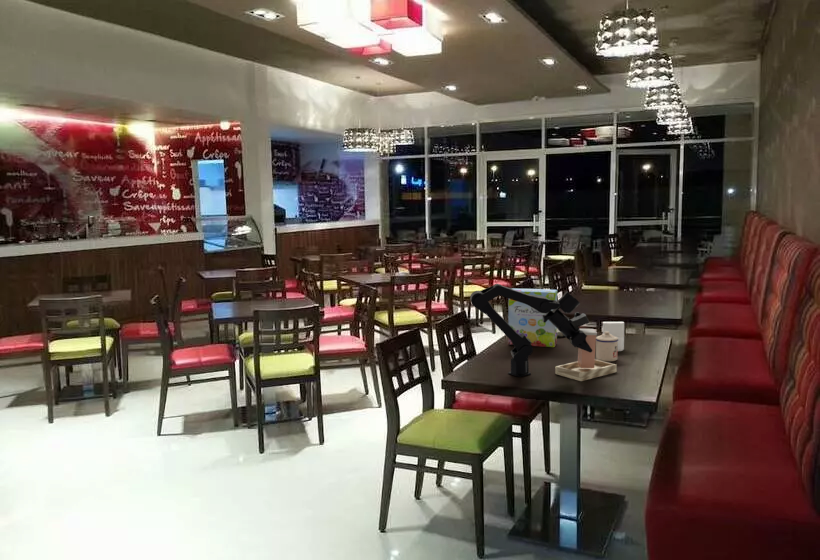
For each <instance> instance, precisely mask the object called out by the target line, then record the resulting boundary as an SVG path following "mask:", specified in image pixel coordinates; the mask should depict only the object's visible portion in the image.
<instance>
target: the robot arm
mask: <svg viewBox="0 0 820 560" xmlns="http://www.w3.org/2000/svg"><path fill="white" fill-rule="evenodd" d="M499 296H501V297H503V298H507V299H508V300H509V299H512V300H515V301H518V302H521V303H524V304H527V305H529V306H530V307H532V308H534V309H535V310H537V311H539V312H541V313H547V314H546V315H542V316H543V320H542V321H543V322H544V323H545V322H546V321H547V320H549V321H550V322H551V323H552V324H553V325H554V326H555V327H556V328H557V329H558V330H559V331H560V332H561V333H562V334H563V335H564V336H563V337H565V338H566V339H567V340H568V341H569V343H570V344H571V345H572V346H573V347H574V348H580V349H583V350H585V351H588V352H592V349H591V347H590V346H589V345H588V343H587V342H586V337H587V335H586V334H585V333H584V332H583V331H578V330H579V329H581V328H580V327H583V326H585V325H587V324H589V323H590V320H589V318H588V316H587V314H586V313H580V312H578V311H577V312H574V317H572V318H571V320H570V317H568V316H566V315H565V314H571V313H572V312H573V311H574V310H575V309H576V308H578V306H579V305H580V304H581V303H580V301H578V299H577V298H576V297H574V296H573V295H572V294H570V293H569V291H566V292H564V294H563V295H562V296H561V297H560V298H559V299H557V301H556V300H549V299H548V298H546V297H544V296H538V295H529V294H525V293H523V292H520V291H517V290H514V289H511V288H510V287H507V286H505V285H501V284H500V283H495V284H493V285H492V286H489V287H487V288H484V289H482V290H474V291H473V292H472V293H471V294H470V297H469V298H470V302H471V305H472V306H473V307H474V308H476V310H479V312H481V313H483V314H485V315H486V316H487V318H488V319H490V320H491V321H492V323H494V325H495V326H496V327H497V328H498V329H499V330H500V331H501V332H502V333H503V334H504V335H505V336H506V337H507V338H509V339H510V340H511V342H512V343H513V346H514V348H512V349H511V350H510V354H511V357H512V358H510V371H508V372H507V374H509V375H511V376H515V377H518V378H521V377H524V376H528V375H531V374H532V372H530V370H529V369H530V368H529V357H530V356H531V355H532V354H533V351H534V346H532V345H531V344H532V342H531V341H530V339H528V338H527V337H526V336H525V335H524V334H523V332H522V334H521V335H520V334H518V333H517V332H516V331H515V330H514V329H513V328H512V327H511V326H510V325H509V324H508V323H509V322H507V321H506V320H505V319H504V318H503V317H502V315H501V314H500V313H498V311H496V309H495V308H494V307H493V306H492V305H491V303H490V301H492V300H493V299H495V298H497V297H499ZM553 309H554V310H553ZM551 310H552V311H551ZM562 311H563V312H562ZM564 313H565V314H564Z"/></svg>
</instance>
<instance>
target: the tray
mask: <svg viewBox="0 0 820 560" xmlns="http://www.w3.org/2000/svg"><path fill="white" fill-rule="evenodd" d="M617 365H618V364H617V363H616V364H615V363H611V362H609V361H600V360H597V359H596V358H595V364H594V368H581V367H580V366H579V365H578V360H576V361H572V362H568V363H565V364H560V365H556V366H555V369H554V370H555V371H554V372H555V375H558V376H561V377H565V378H568V379H571V380H575V381H579V382H584V381H587V380H591V379H595V378H598V377H602V376H603V377H604V376H607V375H611V374H614V373H617V371H618V370H617Z"/></svg>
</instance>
